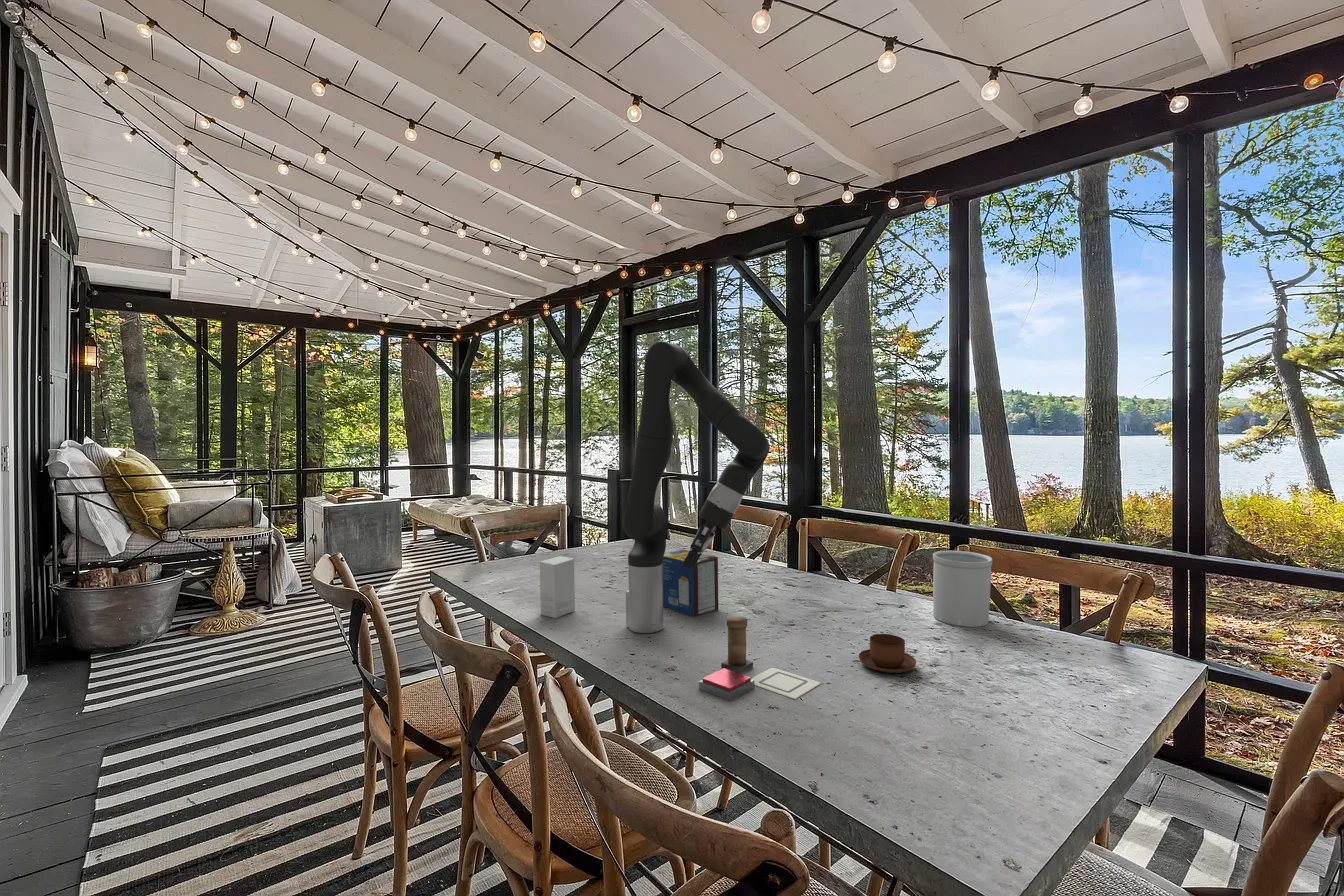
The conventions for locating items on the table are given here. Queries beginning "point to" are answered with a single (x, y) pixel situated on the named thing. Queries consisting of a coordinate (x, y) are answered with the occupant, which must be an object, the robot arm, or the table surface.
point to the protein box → (690, 584)
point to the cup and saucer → (887, 654)
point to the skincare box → (557, 586)
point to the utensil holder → (961, 588)
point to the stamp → (737, 645)
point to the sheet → (784, 683)
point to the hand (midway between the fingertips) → (688, 565)
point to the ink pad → (726, 684)
